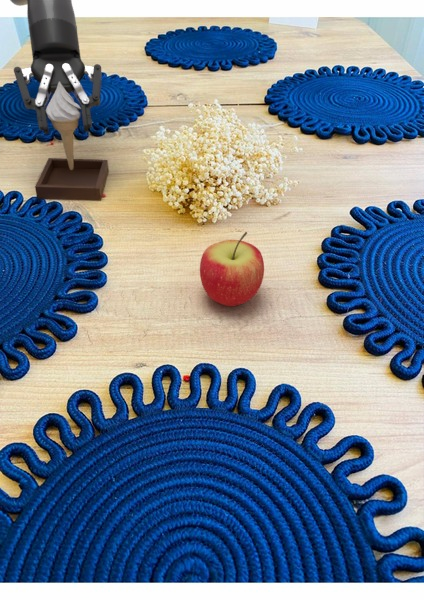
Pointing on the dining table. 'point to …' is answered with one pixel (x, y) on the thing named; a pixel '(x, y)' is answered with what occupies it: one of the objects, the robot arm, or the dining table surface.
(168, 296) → the dining table surface
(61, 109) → the ice cream cone
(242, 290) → the apple
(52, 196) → the tray
